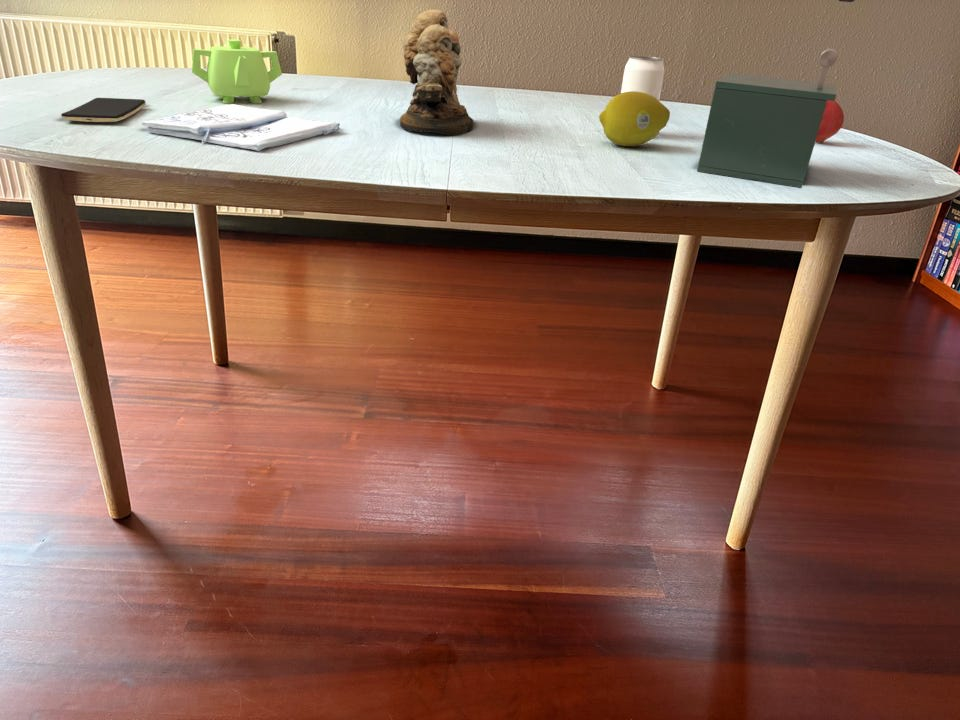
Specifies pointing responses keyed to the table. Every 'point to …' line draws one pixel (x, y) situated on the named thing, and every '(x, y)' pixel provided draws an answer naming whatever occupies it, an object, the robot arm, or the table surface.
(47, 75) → the table surface
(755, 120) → the trash bin
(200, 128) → the open sketchbook
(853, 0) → the robot arm
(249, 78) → the teapot
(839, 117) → the onion
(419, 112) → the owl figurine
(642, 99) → the lemon
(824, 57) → the bin lid
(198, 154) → the table surface
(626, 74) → the can
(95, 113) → the smartphone
